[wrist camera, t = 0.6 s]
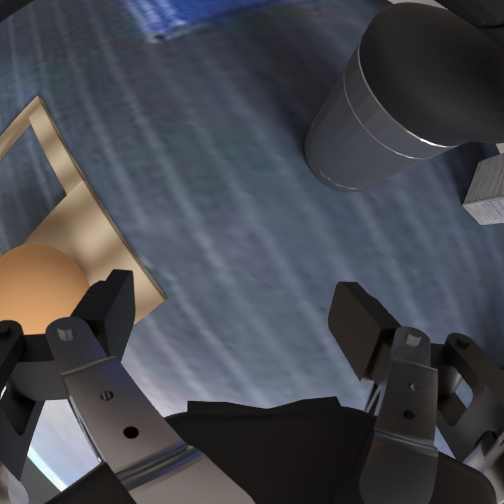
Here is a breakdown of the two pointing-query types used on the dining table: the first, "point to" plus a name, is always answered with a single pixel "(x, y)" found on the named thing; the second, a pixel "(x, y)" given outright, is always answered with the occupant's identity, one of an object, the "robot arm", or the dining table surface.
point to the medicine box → (487, 192)
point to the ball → (39, 286)
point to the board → (81, 215)
